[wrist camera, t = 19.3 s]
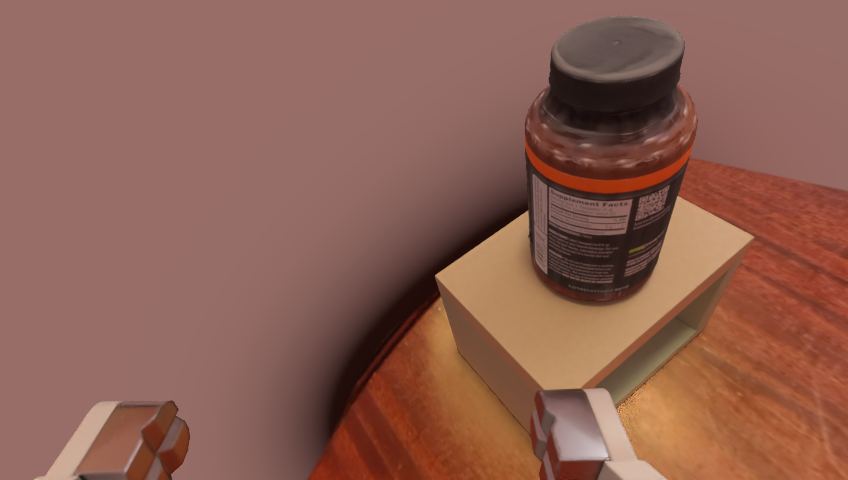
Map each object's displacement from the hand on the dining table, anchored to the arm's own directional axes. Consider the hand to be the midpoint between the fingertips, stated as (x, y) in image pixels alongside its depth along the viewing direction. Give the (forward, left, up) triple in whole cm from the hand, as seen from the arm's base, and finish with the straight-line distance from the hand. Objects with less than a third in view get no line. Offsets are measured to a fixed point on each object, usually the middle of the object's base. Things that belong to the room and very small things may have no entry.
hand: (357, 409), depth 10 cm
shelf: (+5, +12, -18) cm, 23 cm away
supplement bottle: (+5, +12, -9) cm, 16 cm away
